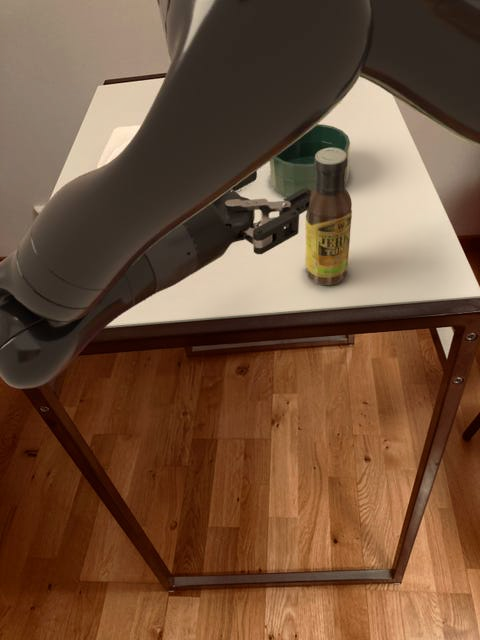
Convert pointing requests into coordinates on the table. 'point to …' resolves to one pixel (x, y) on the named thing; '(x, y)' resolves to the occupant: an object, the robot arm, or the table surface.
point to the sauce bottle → (328, 219)
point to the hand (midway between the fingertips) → (280, 182)
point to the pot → (305, 159)
